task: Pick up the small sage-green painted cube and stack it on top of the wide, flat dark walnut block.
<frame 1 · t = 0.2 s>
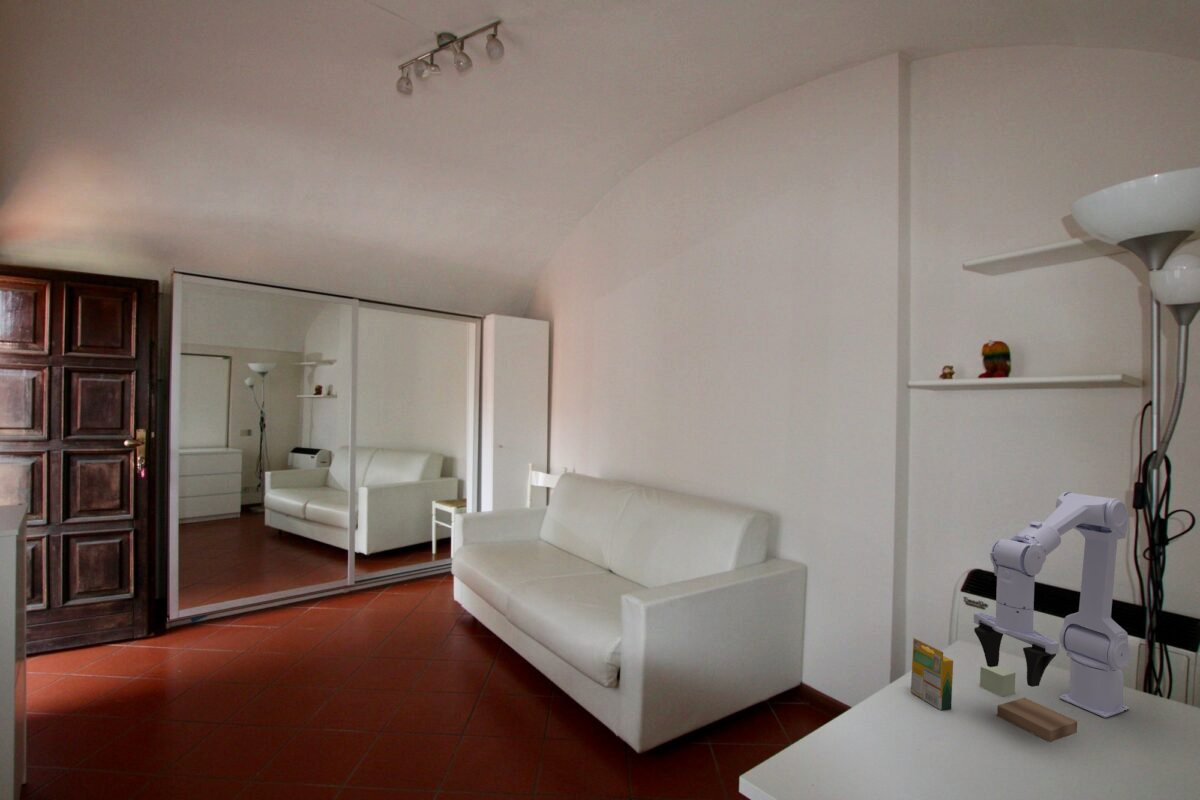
hand: (1012, 675, 104), 10 cm above the table, fingers open, 7 cm apart
sage cube: (997, 690, 119), on the table
walnut base block: (1036, 726, 106), on the table
crayon box: (930, 701, 113), on the table
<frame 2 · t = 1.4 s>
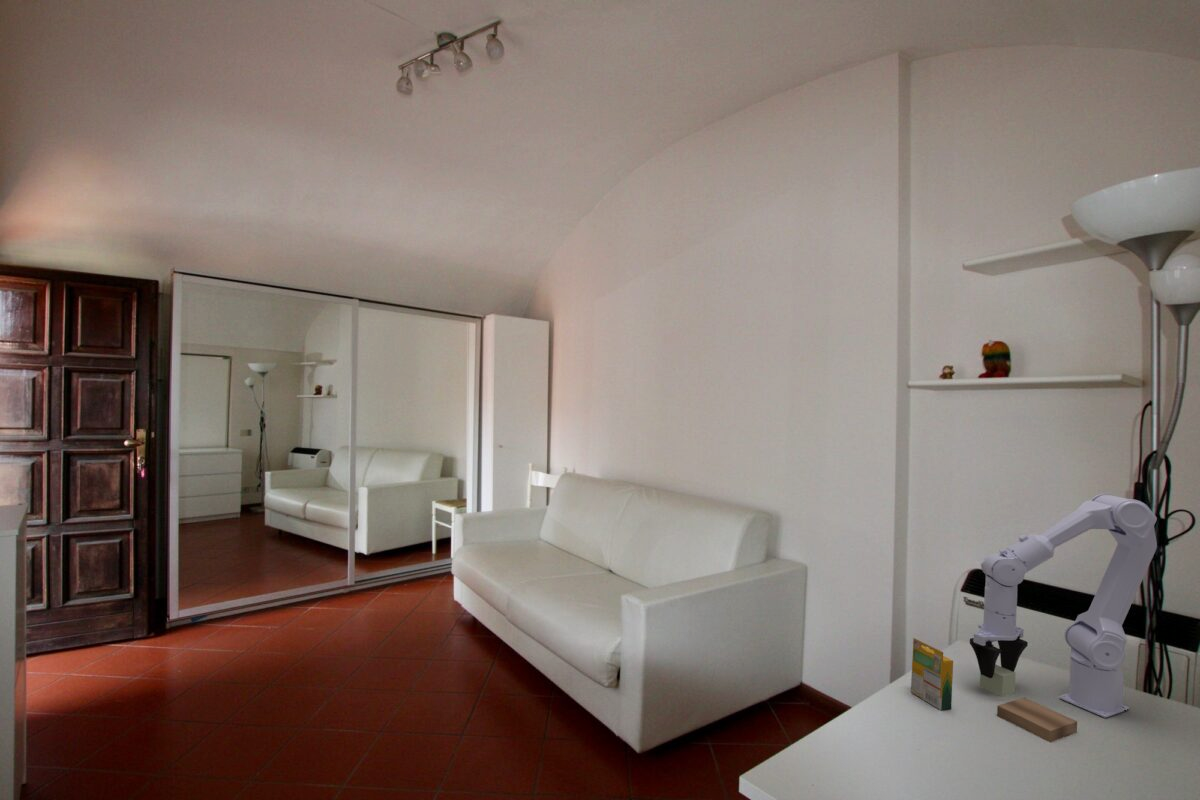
hand: (997, 673, 119), 4 cm above the table, fingers open, 7 cm apart
nothing on the table moved.
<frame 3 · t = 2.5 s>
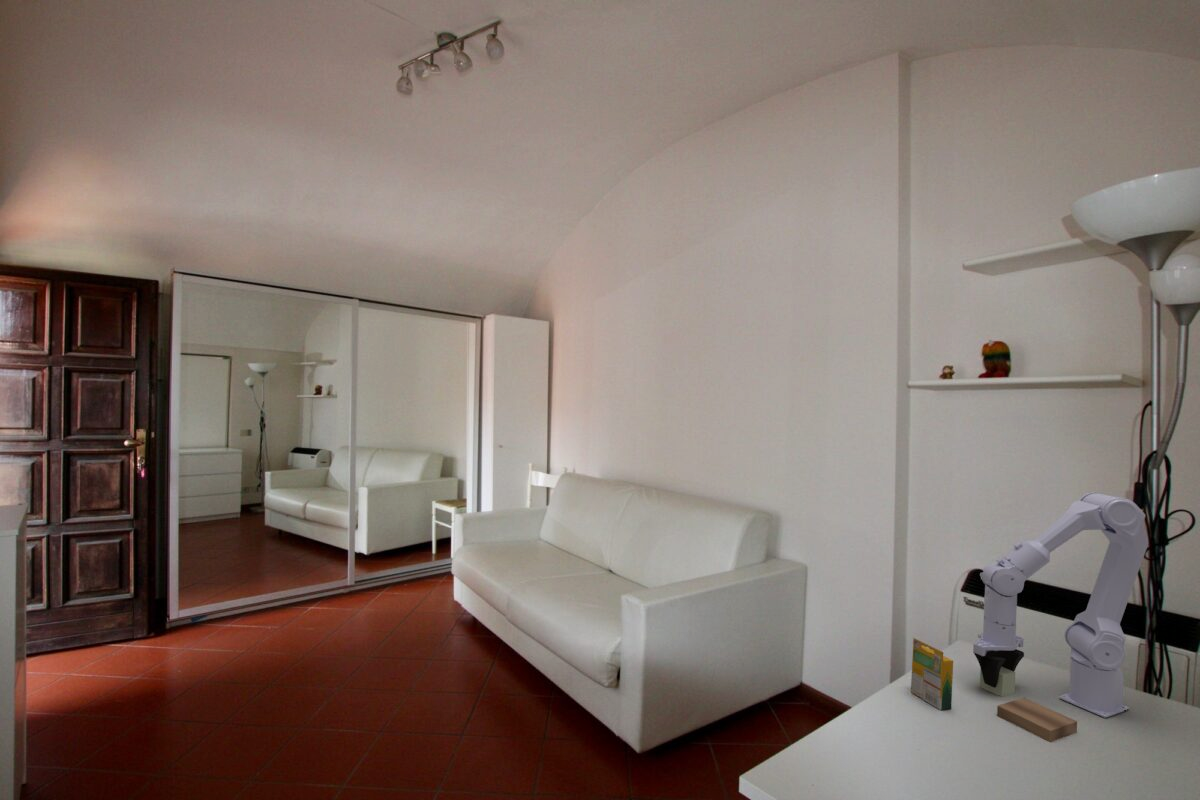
hand: (997, 683, 119), 1 cm above the table, fingers closed on sage cube, 4 cm apart
sage cube: (997, 689, 119), on the table, touching gripper
everything else where it was.
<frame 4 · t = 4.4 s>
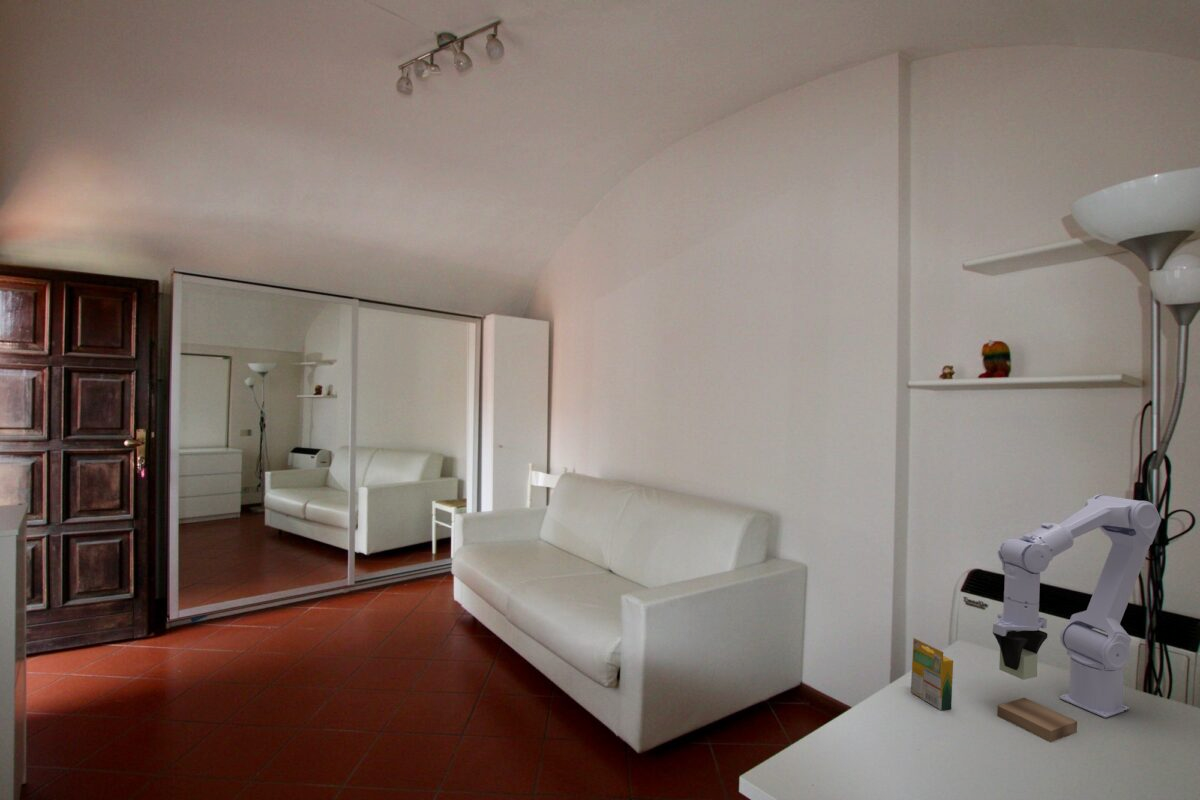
hand: (1018, 666, 112), 8 cm above the table, fingers closed on sage cube, 4 cm apart
sage cube: (1017, 673, 112), point 7 cm above the table, touching gripper
everything else where it was.
when the fingers open (5 cm above the table, at t = 6.2 s): sage cube drops 2 cm, resting on walnut base block.
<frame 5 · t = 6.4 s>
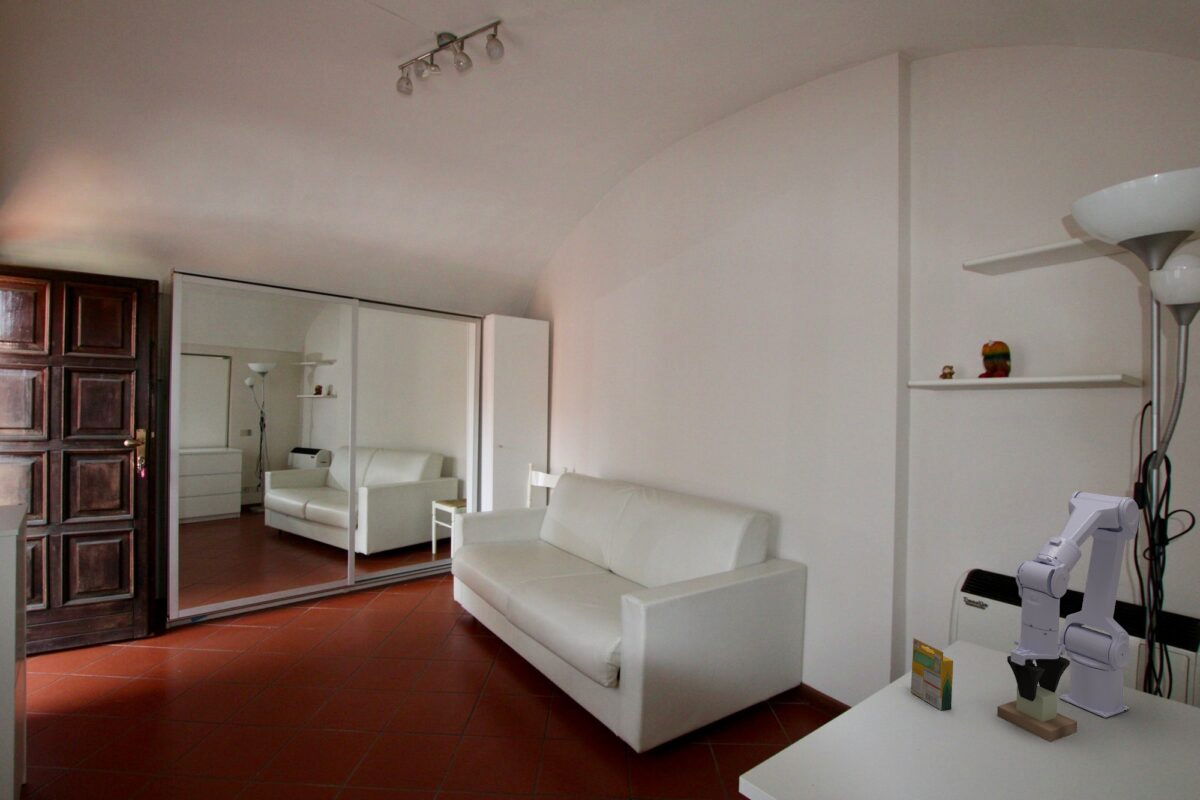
hand: (1037, 695, 106), 5 cm above the table, fingers open, 6 cm apart
sage cube: (1036, 713, 106), point 2 cm above the table, touching walnut base block
walnut base block: (1036, 726, 106), on the table, touching sage cube
everything else where it was.
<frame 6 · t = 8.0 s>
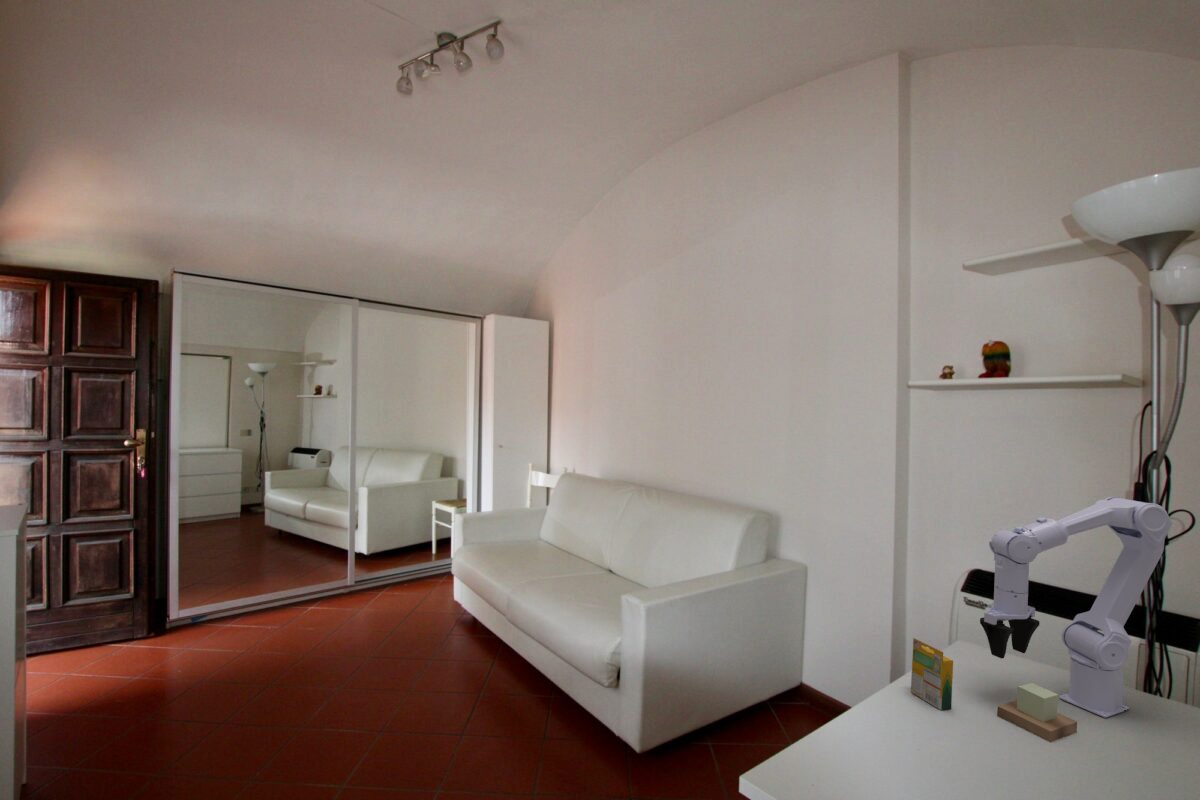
hand: (1008, 653, 115), 9 cm above the table, fingers open, 7 cm apart
nothing on the table moved.
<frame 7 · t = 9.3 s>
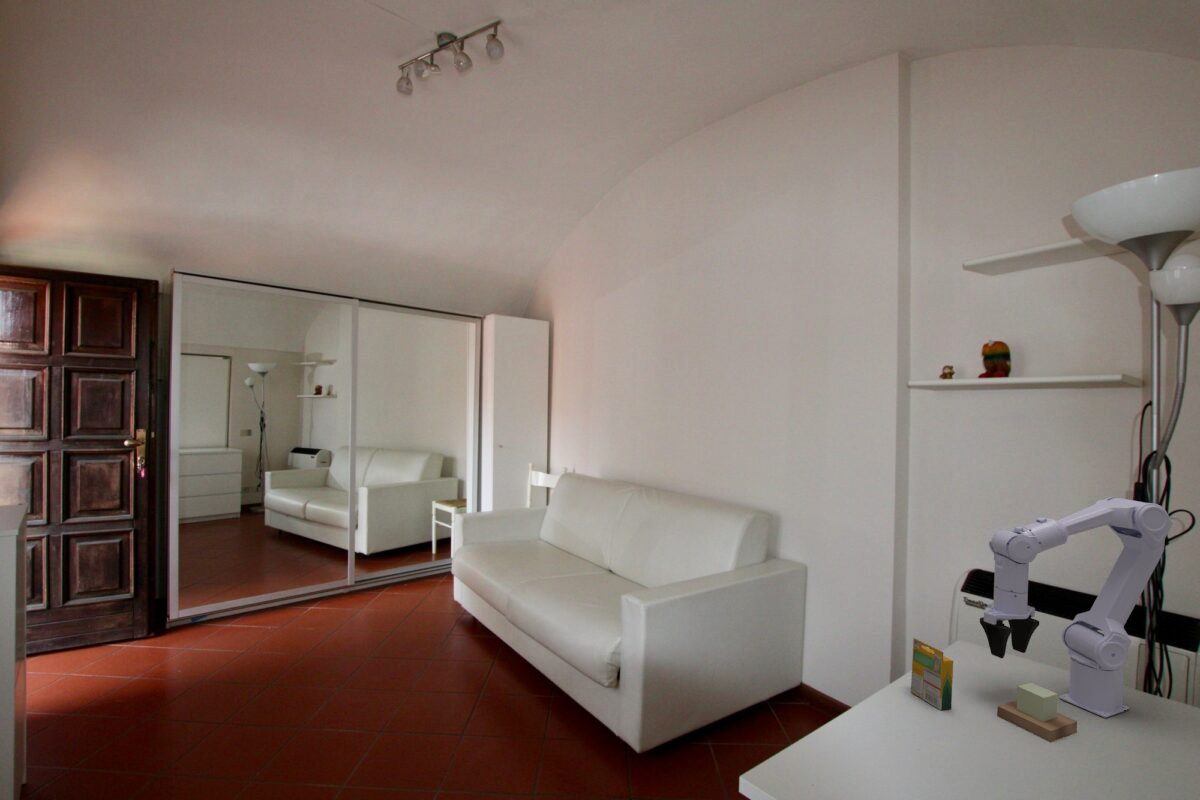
hand: (1008, 653, 115), 9 cm above the table, fingers open, 7 cm apart
nothing on the table moved.
at the end: sage cube 0.1 cm off-centre on the walnut base block, point 2.5 cm above the walnut base block's base; sage cube tilted 0°; the gripper is holding nothing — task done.
